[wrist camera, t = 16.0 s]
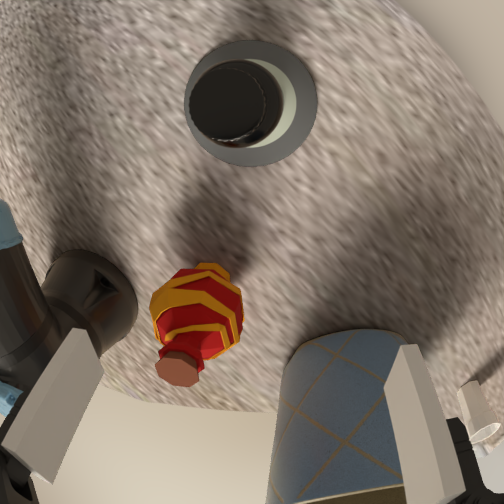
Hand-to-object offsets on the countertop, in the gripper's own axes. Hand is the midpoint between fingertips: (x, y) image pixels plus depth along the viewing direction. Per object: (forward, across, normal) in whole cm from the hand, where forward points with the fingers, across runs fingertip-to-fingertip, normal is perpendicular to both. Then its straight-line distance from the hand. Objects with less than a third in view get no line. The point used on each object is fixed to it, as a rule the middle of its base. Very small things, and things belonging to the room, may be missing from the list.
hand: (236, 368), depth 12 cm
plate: (+24, -1, +9) cm, 25 cm away
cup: (+23, +40, -36) cm, 58 cm away
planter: (+24, +13, -28) cm, 39 cm away
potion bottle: (+24, -7, -12) cm, 28 cm away
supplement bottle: (+23, -1, +9) cm, 25 cm away
